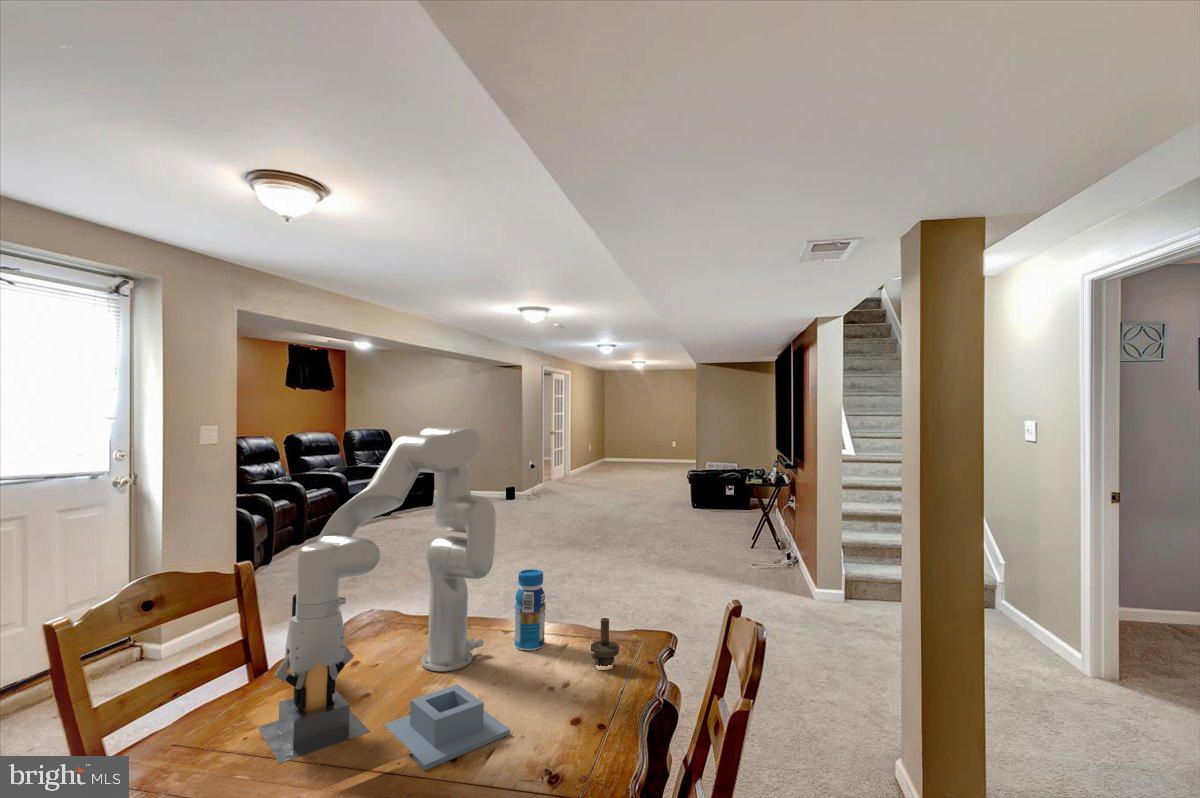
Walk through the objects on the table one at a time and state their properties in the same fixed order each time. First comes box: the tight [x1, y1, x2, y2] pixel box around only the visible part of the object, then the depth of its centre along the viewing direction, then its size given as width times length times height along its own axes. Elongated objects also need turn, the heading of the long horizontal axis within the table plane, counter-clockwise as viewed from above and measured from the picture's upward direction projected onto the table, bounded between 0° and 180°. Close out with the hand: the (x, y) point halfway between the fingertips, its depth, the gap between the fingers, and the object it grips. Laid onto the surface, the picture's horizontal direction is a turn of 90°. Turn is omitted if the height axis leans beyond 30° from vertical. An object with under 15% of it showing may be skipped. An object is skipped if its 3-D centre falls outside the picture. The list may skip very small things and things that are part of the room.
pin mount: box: [257, 689, 371, 765], centre depth 115 cm, size 16×16×6 cm
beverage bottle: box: [513, 568, 547, 651], centre depth 160 cm, size 8×8×20 cm
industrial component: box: [589, 617, 620, 667], centre depth 147 cm, size 9×7×12 cm
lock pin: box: [302, 662, 328, 714], centre depth 115 cm, size 4×4×14 cm
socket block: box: [383, 684, 511, 772], centre depth 116 cm, size 18×18×6 cm
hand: (314, 701), depth 115 cm, fingers closed on lock pin, 4 cm apart
